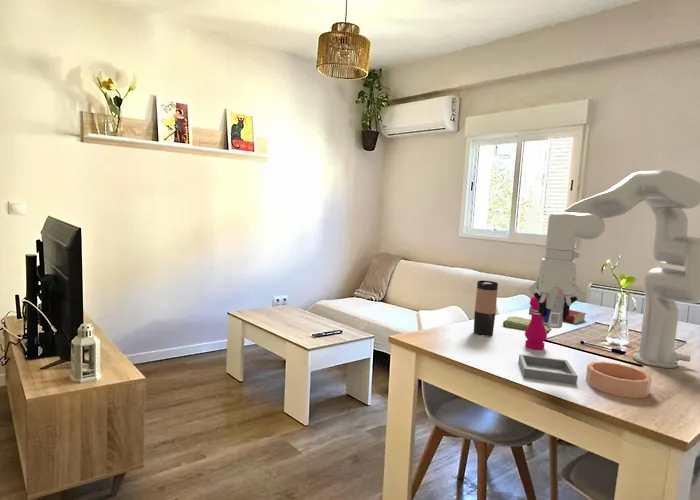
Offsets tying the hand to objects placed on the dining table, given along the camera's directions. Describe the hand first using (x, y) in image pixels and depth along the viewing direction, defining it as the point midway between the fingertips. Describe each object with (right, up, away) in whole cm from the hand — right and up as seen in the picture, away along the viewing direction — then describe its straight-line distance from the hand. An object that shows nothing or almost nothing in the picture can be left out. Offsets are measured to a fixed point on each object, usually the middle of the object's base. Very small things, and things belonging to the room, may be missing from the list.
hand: (553, 316), depth 136 cm
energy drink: (0, -3, 0) cm, 3 cm away
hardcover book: (+36, -12, +79) cm, 88 cm away
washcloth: (+14, -13, +56) cm, 59 cm away
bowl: (+15, -19, -7) cm, 25 cm away
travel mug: (-9, -13, +42) cm, 44 cm away
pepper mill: (+6, -15, +28) cm, 32 cm away
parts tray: (-1, -17, +2) cm, 17 cm away
